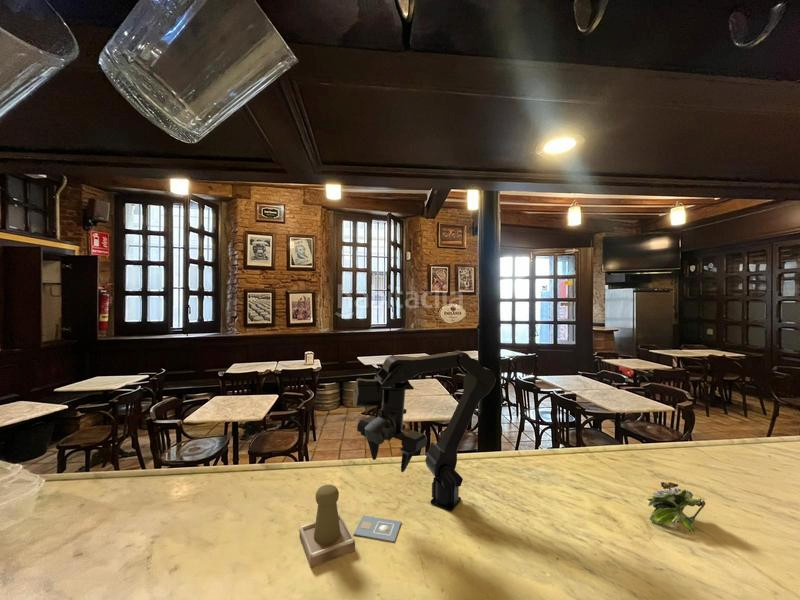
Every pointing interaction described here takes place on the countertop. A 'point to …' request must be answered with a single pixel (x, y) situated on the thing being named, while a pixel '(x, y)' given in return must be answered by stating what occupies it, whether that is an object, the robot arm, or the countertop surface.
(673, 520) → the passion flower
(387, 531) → the blueprint card
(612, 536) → the countertop surface
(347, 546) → the brown square tray
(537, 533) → the countertop surface
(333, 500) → the olive pawn figure
